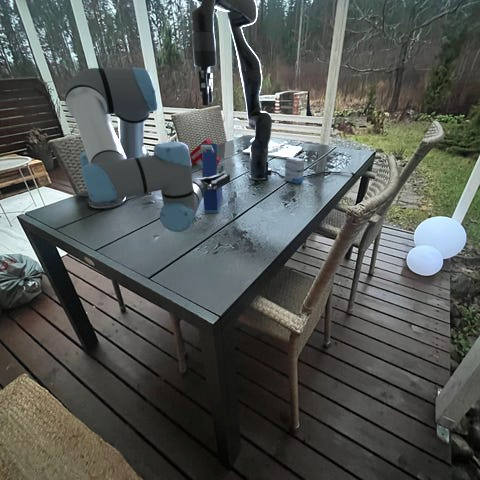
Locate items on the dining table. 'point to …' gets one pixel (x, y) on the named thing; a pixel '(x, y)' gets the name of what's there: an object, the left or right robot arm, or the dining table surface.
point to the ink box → (294, 170)
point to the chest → (212, 200)
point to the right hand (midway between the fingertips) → (207, 103)
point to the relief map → (280, 150)
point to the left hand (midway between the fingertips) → (202, 169)
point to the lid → (209, 159)
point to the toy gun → (200, 153)
